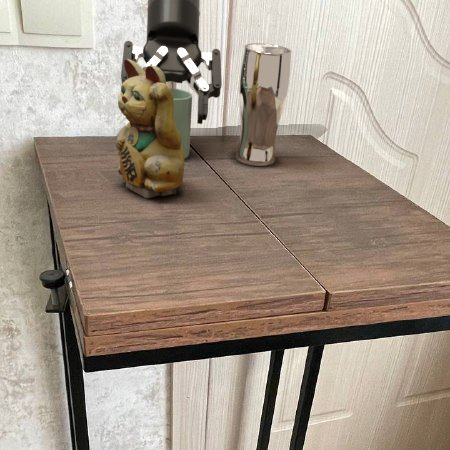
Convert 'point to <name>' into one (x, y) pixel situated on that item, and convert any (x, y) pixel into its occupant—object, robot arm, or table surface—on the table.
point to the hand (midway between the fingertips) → (170, 118)
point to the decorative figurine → (149, 134)
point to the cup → (183, 116)
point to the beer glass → (261, 101)
